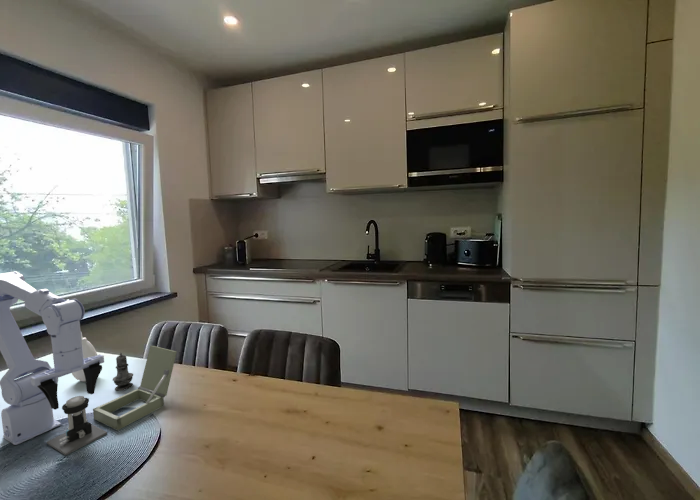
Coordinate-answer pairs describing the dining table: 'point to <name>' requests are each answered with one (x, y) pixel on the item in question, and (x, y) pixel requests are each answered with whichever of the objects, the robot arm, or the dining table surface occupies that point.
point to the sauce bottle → (87, 352)
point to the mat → (72, 446)
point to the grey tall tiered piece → (122, 374)
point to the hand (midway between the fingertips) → (73, 400)
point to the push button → (76, 418)
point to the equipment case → (142, 391)
